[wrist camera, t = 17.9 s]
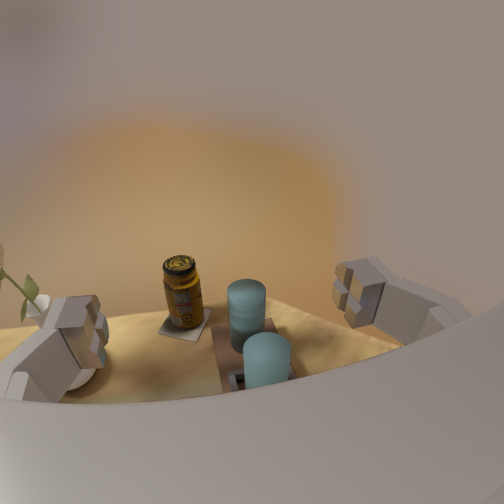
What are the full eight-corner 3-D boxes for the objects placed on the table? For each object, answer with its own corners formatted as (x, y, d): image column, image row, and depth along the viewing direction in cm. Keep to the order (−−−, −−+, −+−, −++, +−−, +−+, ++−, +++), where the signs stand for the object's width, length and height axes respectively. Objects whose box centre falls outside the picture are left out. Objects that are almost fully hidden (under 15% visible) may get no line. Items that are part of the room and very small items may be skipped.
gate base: (312, 428, 33) (331, 373, 26) (236, 446, 31) (229, 396, 24) (270, 328, 50) (273, 266, 43) (212, 338, 48) (204, 276, 41)
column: (278, 419, 32) (283, 372, 27) (240, 407, 33) (235, 359, 28) (290, 388, 36) (296, 338, 31) (254, 379, 37) (253, 327, 32)
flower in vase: (53, 345, 43) (-1, 220, 30) (105, 344, 45) (58, 207, 32) (36, 402, 32) (-48, 267, 19) (95, 406, 34) (15, 257, 21)
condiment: (212, 310, 54) (206, 253, 48) (196, 342, 47) (186, 283, 41) (176, 304, 55) (166, 249, 49) (157, 334, 48) (142, 277, 42)
